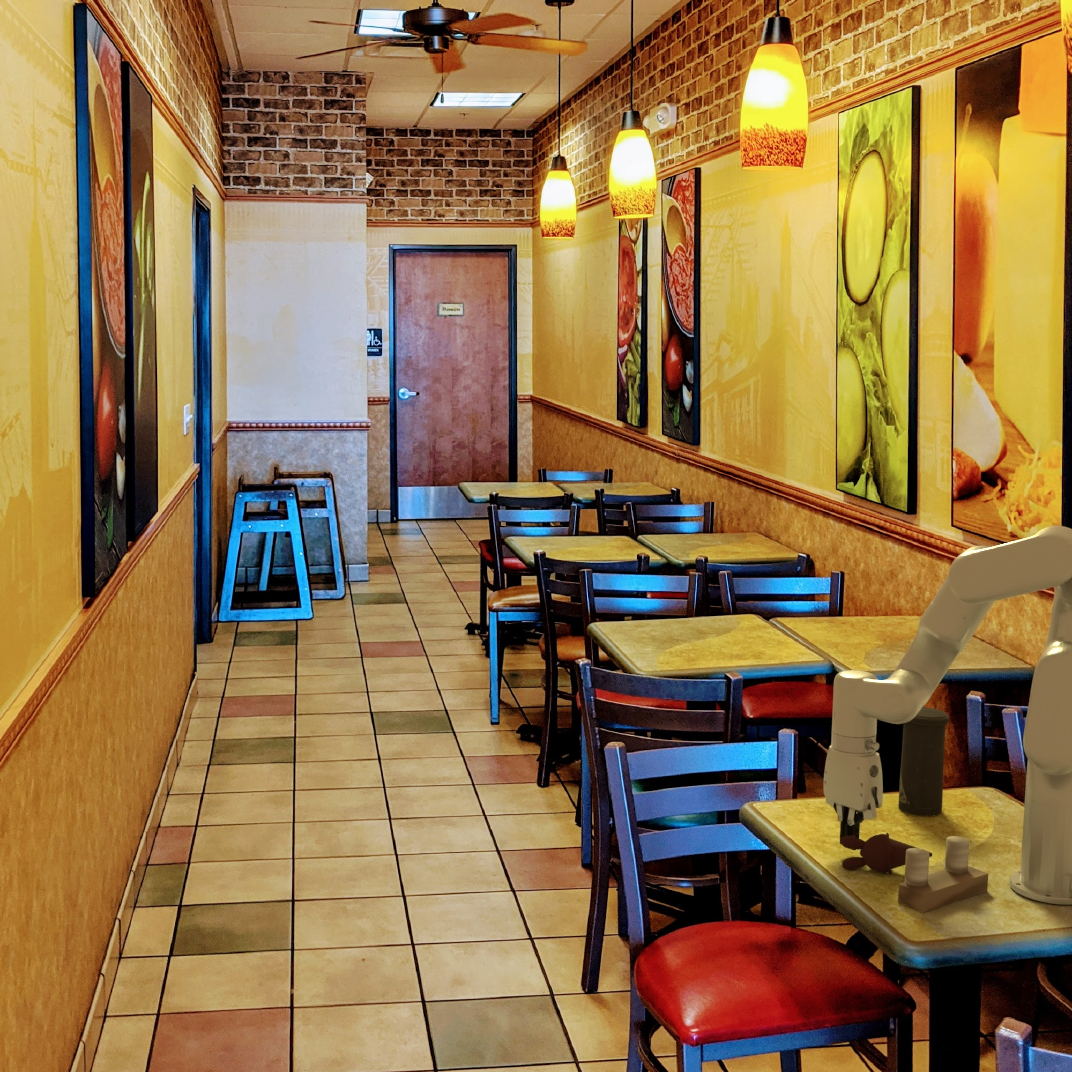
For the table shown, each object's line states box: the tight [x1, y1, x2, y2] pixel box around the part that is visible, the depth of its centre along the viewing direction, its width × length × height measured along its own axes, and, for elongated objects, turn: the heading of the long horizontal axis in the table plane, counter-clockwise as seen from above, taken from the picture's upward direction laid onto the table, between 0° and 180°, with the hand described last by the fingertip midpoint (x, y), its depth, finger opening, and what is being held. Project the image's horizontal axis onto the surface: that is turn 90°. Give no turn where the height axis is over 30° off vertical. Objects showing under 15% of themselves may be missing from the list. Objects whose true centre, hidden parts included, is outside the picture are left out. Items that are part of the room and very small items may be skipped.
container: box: [897, 706, 950, 817], centre depth 252 cm, size 9×9×20 cm
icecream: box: [840, 832, 933, 875], centre depth 221 cm, size 7×7×15 cm
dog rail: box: [897, 835, 989, 914], centre depth 211 cm, size 6×16×8 cm, turn 124°
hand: (849, 843), depth 228 cm, fingers closed
